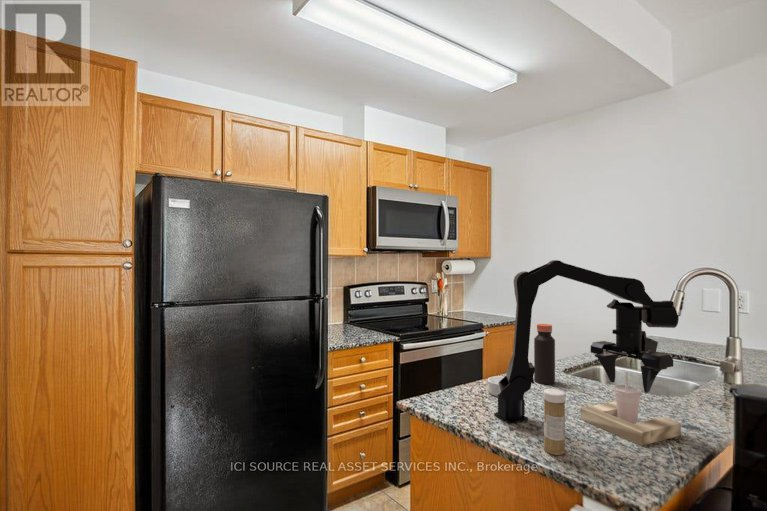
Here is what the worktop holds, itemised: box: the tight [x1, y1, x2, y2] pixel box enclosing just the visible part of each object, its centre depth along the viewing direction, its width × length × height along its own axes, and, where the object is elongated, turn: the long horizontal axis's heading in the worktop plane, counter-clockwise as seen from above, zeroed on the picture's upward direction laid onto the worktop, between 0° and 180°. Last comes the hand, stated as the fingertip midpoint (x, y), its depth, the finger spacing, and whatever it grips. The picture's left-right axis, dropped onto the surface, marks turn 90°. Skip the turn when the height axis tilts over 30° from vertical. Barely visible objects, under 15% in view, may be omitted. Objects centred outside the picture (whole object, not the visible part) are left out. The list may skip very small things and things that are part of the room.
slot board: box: [579, 400, 682, 447], centre depth 103 cm, size 14×17×3 cm
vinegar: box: [533, 323, 556, 385], centre depth 142 cm, size 7×7×20 cm
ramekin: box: [487, 376, 505, 398], centre depth 129 cm, size 9×9×4 cm
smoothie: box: [612, 371, 643, 424], centre depth 104 cm, size 6×6×14 cm
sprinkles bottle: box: [543, 388, 567, 456], centre depth 90 cm, size 5×5×13 cm
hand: (629, 387), depth 103 cm, fingers open, 9 cm apart
